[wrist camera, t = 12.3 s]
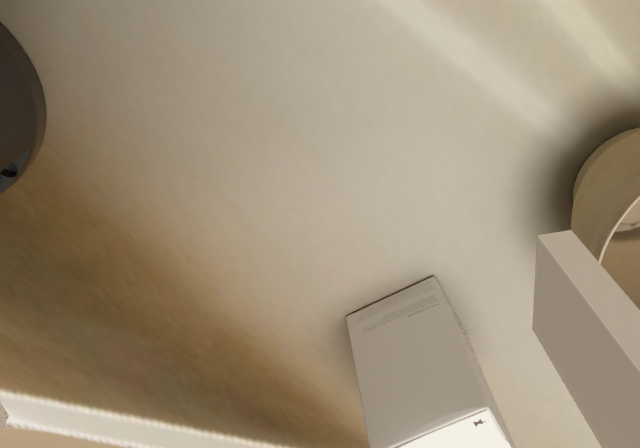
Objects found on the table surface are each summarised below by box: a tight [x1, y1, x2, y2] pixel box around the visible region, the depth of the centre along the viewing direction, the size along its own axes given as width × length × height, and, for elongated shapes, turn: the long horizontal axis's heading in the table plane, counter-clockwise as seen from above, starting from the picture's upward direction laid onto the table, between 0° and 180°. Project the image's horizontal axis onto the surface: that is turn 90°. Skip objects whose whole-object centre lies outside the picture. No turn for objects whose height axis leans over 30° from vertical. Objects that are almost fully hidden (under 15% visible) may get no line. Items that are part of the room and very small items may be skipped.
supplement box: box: [346, 276, 515, 448], centre depth 48 cm, size 9×9×15 cm
